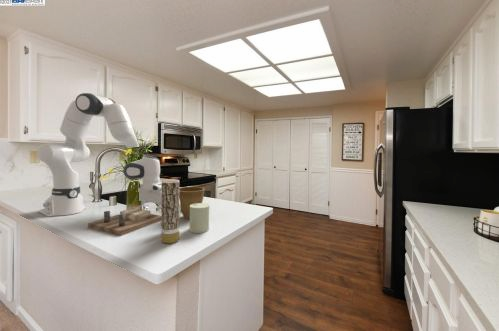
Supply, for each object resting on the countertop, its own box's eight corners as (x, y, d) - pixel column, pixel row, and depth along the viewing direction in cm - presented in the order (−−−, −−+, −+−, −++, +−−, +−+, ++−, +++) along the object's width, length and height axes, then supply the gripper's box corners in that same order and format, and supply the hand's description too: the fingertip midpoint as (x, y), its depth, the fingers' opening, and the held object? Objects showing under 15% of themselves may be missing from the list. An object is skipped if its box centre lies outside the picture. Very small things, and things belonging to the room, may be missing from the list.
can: (198, 224, 110) (198, 201, 110) (213, 228, 106) (213, 203, 105) (185, 230, 102) (185, 205, 101) (200, 234, 98) (200, 208, 97)
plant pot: (197, 212, 132) (198, 185, 131) (208, 218, 120) (209, 189, 119) (172, 215, 124) (172, 187, 122) (181, 223, 112) (181, 192, 110)
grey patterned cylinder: (173, 245, 87) (173, 182, 85) (157, 243, 88) (157, 181, 86) (182, 238, 93) (182, 179, 91) (167, 236, 95) (167, 178, 93)
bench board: (87, 227, 102) (87, 212, 102) (132, 214, 125) (132, 201, 124) (121, 235, 94) (121, 219, 94) (162, 219, 116) (162, 206, 116)
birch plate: (120, 217, 112) (120, 211, 112) (133, 213, 119) (133, 207, 119) (137, 220, 107) (137, 214, 107) (150, 216, 115) (150, 210, 115)
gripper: (133, 184, 123) (133, 208, 124) (161, 188, 116) (161, 213, 117) (142, 183, 129) (142, 206, 130) (170, 186, 121) (169, 210, 122)
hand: (151, 209), depth 123 cm, fingers open, 8 cm apart
